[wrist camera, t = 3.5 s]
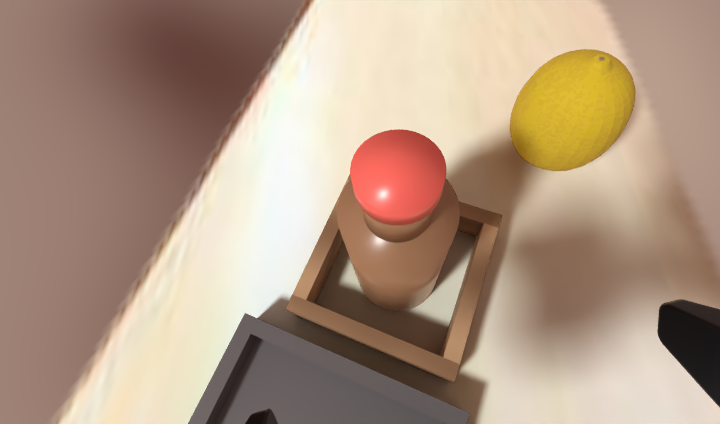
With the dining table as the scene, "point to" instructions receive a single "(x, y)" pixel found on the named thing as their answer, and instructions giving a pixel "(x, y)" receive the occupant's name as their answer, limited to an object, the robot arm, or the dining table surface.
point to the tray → (308, 386)
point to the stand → (441, 366)
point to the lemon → (572, 110)
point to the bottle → (398, 217)
